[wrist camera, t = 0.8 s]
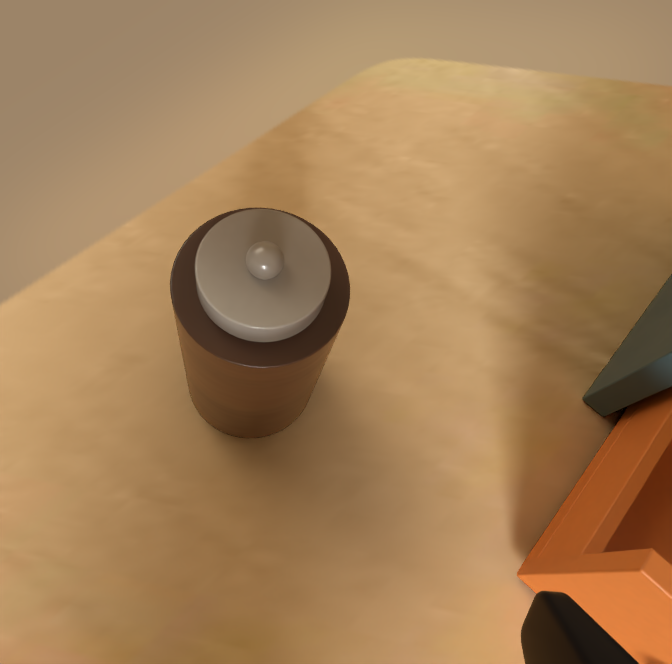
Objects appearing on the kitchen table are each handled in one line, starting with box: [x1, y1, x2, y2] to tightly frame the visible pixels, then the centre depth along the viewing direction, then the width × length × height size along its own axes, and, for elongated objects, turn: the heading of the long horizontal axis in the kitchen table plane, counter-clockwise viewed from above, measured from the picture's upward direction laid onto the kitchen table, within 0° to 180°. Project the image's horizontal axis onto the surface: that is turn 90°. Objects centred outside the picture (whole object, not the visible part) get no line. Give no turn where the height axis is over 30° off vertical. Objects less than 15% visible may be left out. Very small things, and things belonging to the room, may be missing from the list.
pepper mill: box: [170, 208, 350, 438], centre depth 20 cm, size 5×5×10 cm
